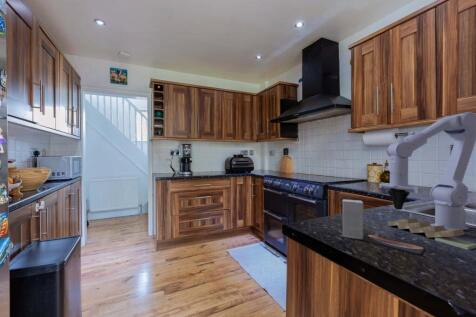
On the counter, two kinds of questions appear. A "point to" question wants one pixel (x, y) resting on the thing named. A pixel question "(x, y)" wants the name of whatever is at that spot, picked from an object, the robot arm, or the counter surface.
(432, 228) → the domino
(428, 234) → the domino
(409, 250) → the brown flat slab
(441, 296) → the counter surface
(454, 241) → the domino
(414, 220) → the domino
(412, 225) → the domino
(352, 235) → the skincare box
